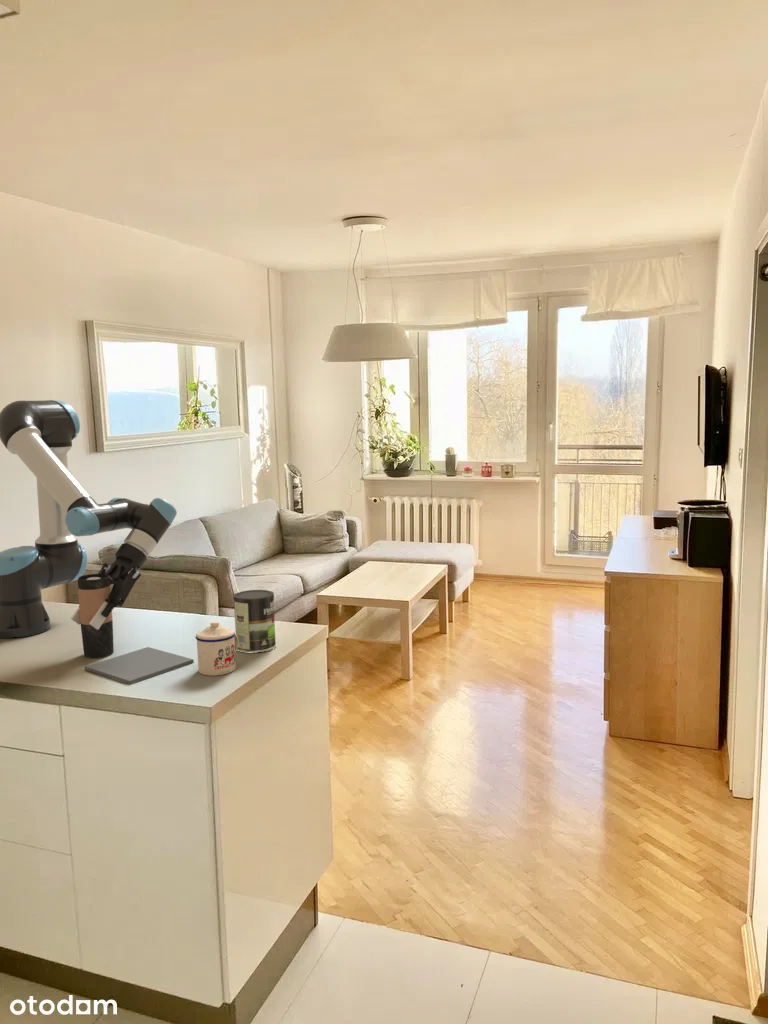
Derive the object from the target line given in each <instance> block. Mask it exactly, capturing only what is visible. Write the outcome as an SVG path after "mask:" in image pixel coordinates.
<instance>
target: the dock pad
mask: <svg viewBox="0 0 768 1024" xmlns="http://www.w3.org/2000/svg"><path fill="white" fill-rule="evenodd" d="M191 664H194V658H190V657H186V656H183V655H179V654H175V653H172V652H168V651H163V650H161V649H156V648H152V647H150V646H147V647H143V648H141V649H138V650H137V649H136V650H133V651H130V652H128V653H124V654H120V655H117V656H114V657H110V658H108V659H104V660H101V661H97V662H95V663H94V662H93V663H90V664H89V665H85V666H84V670H85V669H87V670H86V671H88V670H90V671H89V672H91V671H92V672H91V673H94V672H95V673H94V674H97V673H98V674H97V675H100V674H101V676H103V675H104V677H106V676H107V678H109V677H110V679H112V678H113V680H115V679H116V681H118V680H119V681H118V682H121V681H122V682H121V683H124V682H125V684H127V683H128V685H133V684H135V683H138V682H141V681H144V680H147V679H149V678H153V677H155V676H158V675H161V674H164V673H167V672H169V671H174V670H176V669H179V668H181V667H184V666H187V665H191ZM132 683H133V684H132Z"/></svg>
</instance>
